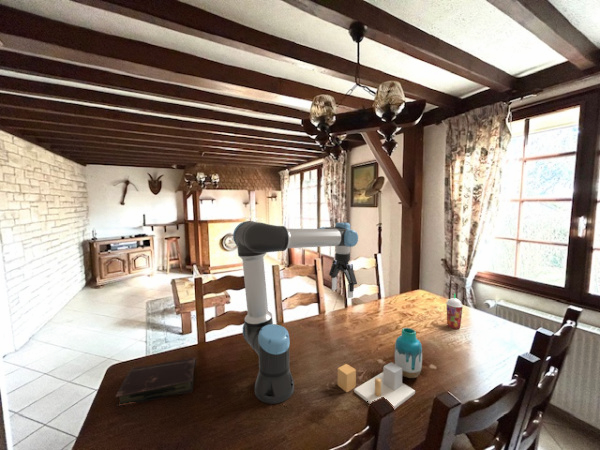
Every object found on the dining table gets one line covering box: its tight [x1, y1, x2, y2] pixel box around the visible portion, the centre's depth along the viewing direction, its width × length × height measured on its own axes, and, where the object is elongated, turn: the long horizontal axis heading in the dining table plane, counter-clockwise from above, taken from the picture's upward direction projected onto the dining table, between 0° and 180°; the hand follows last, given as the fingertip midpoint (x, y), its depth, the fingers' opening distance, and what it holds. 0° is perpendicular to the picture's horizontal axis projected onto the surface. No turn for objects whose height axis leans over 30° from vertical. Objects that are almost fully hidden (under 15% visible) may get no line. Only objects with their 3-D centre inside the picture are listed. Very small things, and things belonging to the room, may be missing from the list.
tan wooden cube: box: [337, 363, 357, 393], centre depth 101 cm, size 5×5×7 cm
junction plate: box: [353, 361, 416, 409], centre depth 98 cm, size 18×14×8 cm
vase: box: [394, 327, 423, 379], centre depth 108 cm, size 11×11×19 cm
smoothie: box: [446, 293, 464, 330], centre depth 151 cm, size 8×8×20 cm
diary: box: [115, 357, 197, 407], centre depth 103 cm, size 19×25×5 cm
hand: (341, 293), depth 133 cm, fingers open, 13 cm apart
